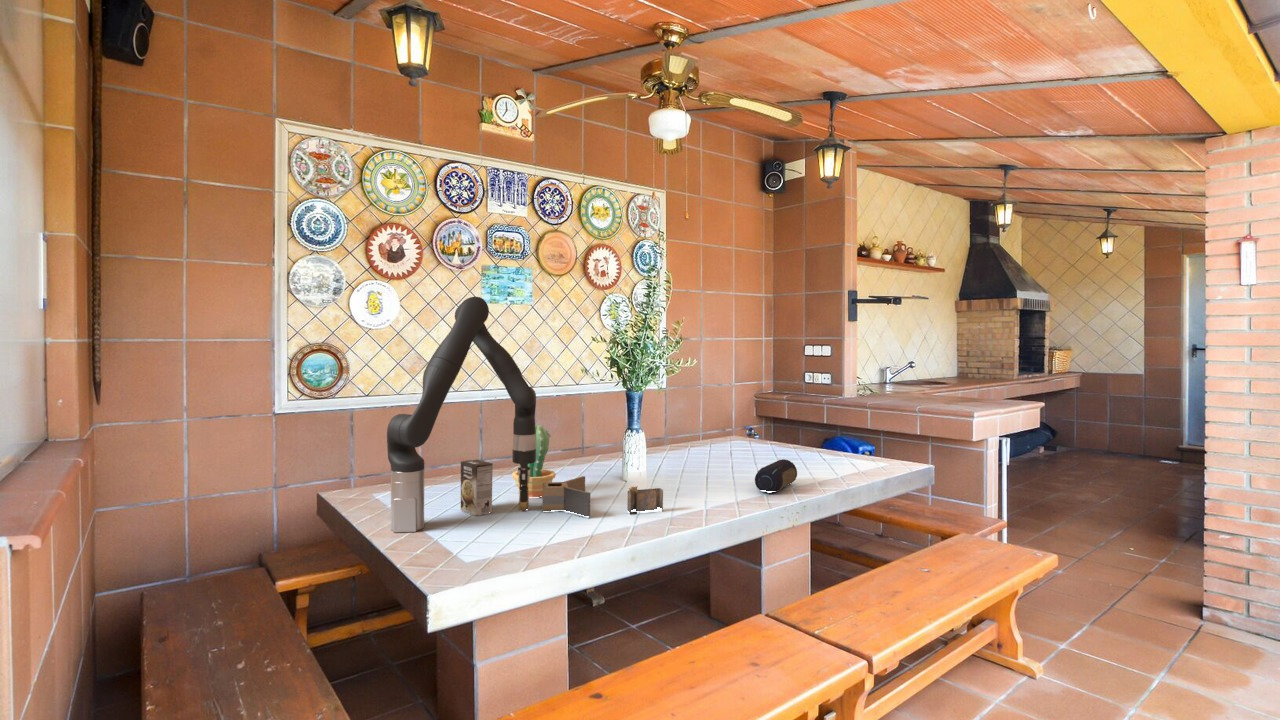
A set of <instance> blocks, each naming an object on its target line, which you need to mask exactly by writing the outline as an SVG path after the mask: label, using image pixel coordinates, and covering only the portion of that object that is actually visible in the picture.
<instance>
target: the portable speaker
mask: <svg viewBox="0 0 1280 720" xmlns="http://www.w3.org/2000/svg"><path fill="white" fill-rule="evenodd" d="M797 477H798V470H797V467H796V465H795V464H794V463H793V462H792V461H791V460H788V459H784V458H783V459H778V460H776V461H774V462H772V463H770V464H767V465H766V466H763V467H761V468H760V469H759V470H758V471H757V473H756V474H755V476H754V484H755V487H756V488H757V489H758V490H759V491H760V490H766V491H777V492H779V491H780V490H782V489H784V488H786V487H787V485H788V484H789V485H791V484H792V482H793V483H794V482H795V480H797ZM790 483H791V484H790ZM789 485H788V486H789ZM785 486H786V487H785ZM783 487H784V488H783ZM781 488H782V489H781ZM778 490H779V491H778Z"/></svg>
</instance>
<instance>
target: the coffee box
mask: <svg viewBox="0 0 1280 720" xmlns="http://www.w3.org/2000/svg"><path fill="white" fill-rule="evenodd" d="M493 465H494V464H493V462H492V463H491V462H489V461H488V462H487V461H484V460H481V459H469V460H468V459H467V460H461V461H460V511H461V510H462V511H461V512H463V511H464V512H463V513H465V512H467V513H466V514H468V513H470V514H469V515H471V514H473V515H472V516H474V515H479V516H482V515H481V514H484V515H486V514H485V513H489V512H492V513H493V468H494V467H493ZM489 514H490V513H489Z"/></svg>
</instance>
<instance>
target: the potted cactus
mask: <svg viewBox="0 0 1280 720" xmlns="http://www.w3.org/2000/svg"><path fill="white" fill-rule="evenodd" d="M535 437H536V461H535V462H534V463H531V464H530V463H529V464H528V467H530V474H529V477H530V479H529V497H540V496H542V495H543V482H553V480H554V479H555V478H556V474H557V473H556V472H555V471H554V470H550V469H543V467H544V462H545V459H546V456H547V454H548V451H549V447H550V446H549V445H550V438H551V437H552V436H551V433H549V430H548V429H547V428H544V426H543V425H541V424H538V425H536V424H535ZM511 476H512V477H511V478H512V479H513V481H515V484H516V487H517V489H519V482H518V477H519V475H518V470H516V471H514V472H512V473H511Z"/></svg>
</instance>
